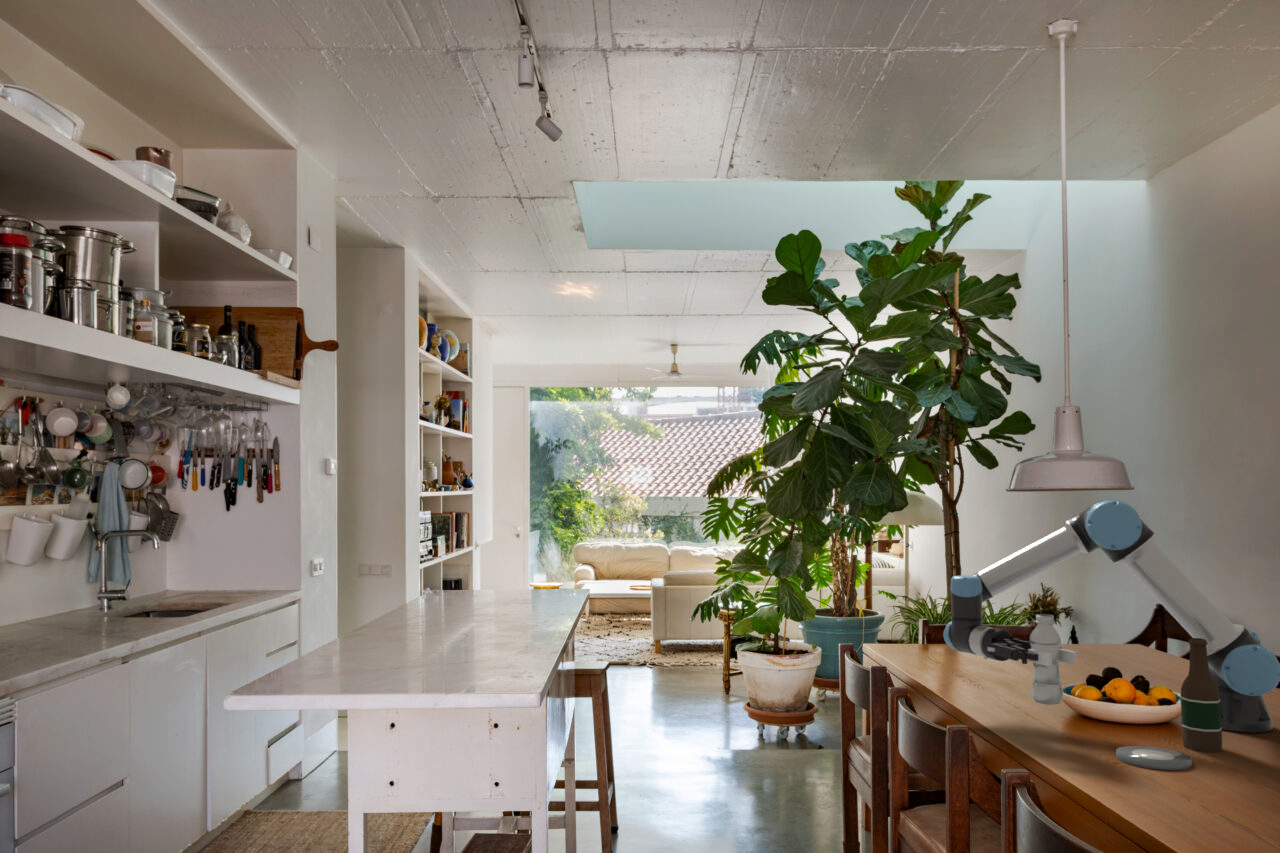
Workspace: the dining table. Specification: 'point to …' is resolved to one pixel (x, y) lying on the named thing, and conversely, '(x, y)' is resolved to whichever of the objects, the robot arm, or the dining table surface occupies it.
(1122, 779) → the dining table surface
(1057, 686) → the plastic bottle
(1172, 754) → the coaster
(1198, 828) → the dining table surface
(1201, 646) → the beer bottle
